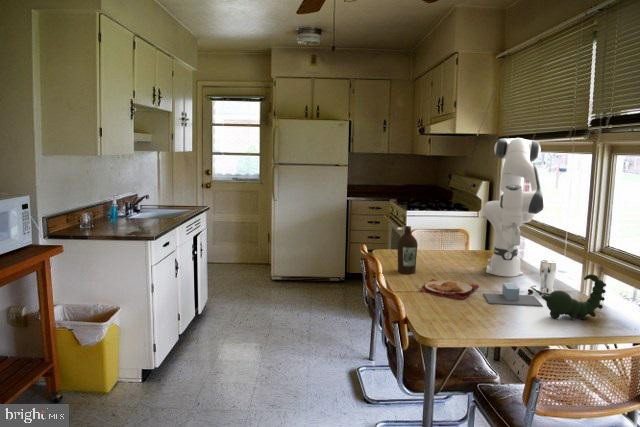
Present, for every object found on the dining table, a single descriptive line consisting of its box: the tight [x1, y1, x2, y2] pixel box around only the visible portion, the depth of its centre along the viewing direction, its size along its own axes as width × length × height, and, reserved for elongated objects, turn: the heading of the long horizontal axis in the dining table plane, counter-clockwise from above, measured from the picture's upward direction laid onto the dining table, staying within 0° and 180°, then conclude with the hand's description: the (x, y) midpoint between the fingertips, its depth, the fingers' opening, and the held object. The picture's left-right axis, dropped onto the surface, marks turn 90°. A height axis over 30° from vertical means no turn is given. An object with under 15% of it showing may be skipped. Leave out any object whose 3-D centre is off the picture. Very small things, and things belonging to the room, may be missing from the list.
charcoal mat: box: [483, 292, 544, 308], centre depth 220 cm, size 14×22×1 cm, turn 82°
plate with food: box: [418, 278, 480, 300], centre depth 236 cm, size 24×26×3 cm
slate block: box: [501, 282, 520, 300], centre depth 223 cm, size 5×5×10 cm
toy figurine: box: [540, 273, 607, 321], centre depth 197 cm, size 9×19×25 cm
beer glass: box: [539, 259, 557, 295], centre depth 232 cm, size 7×7×15 cm
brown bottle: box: [396, 225, 418, 275], centre depth 268 cm, size 11×11×25 cm
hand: (510, 251), depth 226 cm, fingers closed
